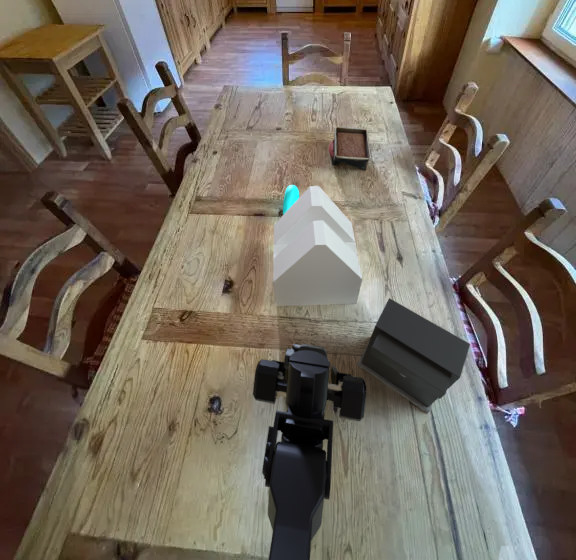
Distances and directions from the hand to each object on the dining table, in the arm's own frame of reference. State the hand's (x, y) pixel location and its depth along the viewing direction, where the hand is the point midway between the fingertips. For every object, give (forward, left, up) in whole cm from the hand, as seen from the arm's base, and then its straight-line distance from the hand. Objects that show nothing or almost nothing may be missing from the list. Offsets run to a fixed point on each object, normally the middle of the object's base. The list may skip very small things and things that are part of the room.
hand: (312, 363), depth 66 cm
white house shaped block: (+23, -1, -7) cm, 24 cm away
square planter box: (+69, -14, -7) cm, 70 cm away
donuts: (+43, +2, -7) cm, 43 cm away
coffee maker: (0, -17, -7) cm, 18 cm away
